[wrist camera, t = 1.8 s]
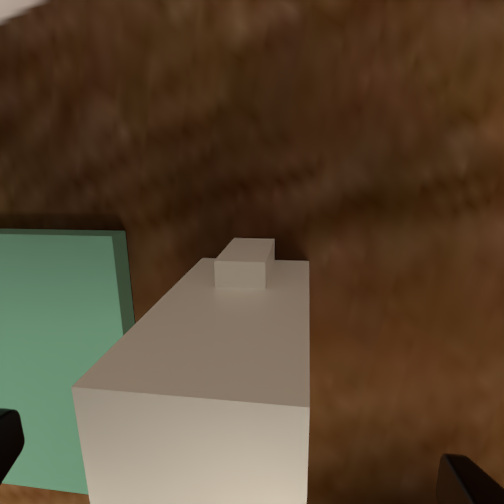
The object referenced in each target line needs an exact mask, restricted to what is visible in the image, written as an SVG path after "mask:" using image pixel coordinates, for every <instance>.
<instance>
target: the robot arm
mask: <svg viewBox="0 0 504 504" xmlns="http://www.w3.org/2000/svg"><path fill="white" fill-rule="evenodd" d="M24 444H25V437H24V432H23V427H22V422H21V417H20V414H19V412H18V411H17V410H15V409H6V408H0V485H1V483H2V482H3V480H4V478H5V477H6V475H7V474H8V472H9V471H10V469H11V468H12V466H13V464H14V463H15V461H16V460H17V458H18V457H19V455H20V454H21V452H22V450H23V447H24ZM436 496H437V502H438V504H504V488H503V487H501V486H500V485H499V484H498V483H497V482H496V481H495V480H493V479H492V478H491V477H490V476H489V475H488V474H487V473H486V472H484V471H483V470H482V469H481V468H480V467H479V466H478V465H476V464H475V463H474V462H473V461H472V460H471V459H470V458H468V457H467V456H464V455H458V454H448V453H445V454H443V455H442V456H441V459H440V464H439V471H438V478H437V485H436Z"/></svg>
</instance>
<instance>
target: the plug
mask: <svg viewBox="0 0 504 504" xmlns="http://www.w3.org/2000/svg"><path fill="white" fill-rule="evenodd" d="M71 389H72V395H73V401H74V407H75V414H76V420H77V426H78V432H79V438H80V444H81V450H82V456H83V463H84V469H85V475H86V481H87V487H88V493H89V499H90V504H307V478H308V446H309V415H310V356H309V261H293V260H275V239H261V238H234V239H233V240H232V241H231V242H230V243H229V244H228V245H227V247H226V248H225V249H224V250H223V251H222V252H221V253H220V255H219V256H218V257H217V258H202V259H201V260H200V261H199V262H198V263H197V264H196V265H195V266H194V267H193V268H192V269H190V270H189V271H188V272H187V273H186V274H185V275H184V276H183V277H182V278H181V279H180V280H179V281H178V282H177V283H176V284H175V285H174V286H173V287H172V288H171V289H170V290H169V291H168V292H167V293H166V294H165V295H164V296H163V297H162V298H161V299H160V300H159V301H158V302H157V303H156V304H155V305H154V306H153V307H152V308H151V309H150V310H149V311H148V312H147V313H146V314H145V315H144V316H143V317H142V318H141V319H140V320H139V321H138V322H137V323H136V324H135V325H134V326H133V327H132V328H131V329H130V330H129V331H128V332H126V333H125V334H124V335H123V336H122V337H121V338H120V339H119V340H118V341H117V342H116V343H115V344H114V345H113V346H112V347H111V348H110V349H109V350H108V351H107V352H106V353H105V354H104V355H103V356H102V357H101V358H100V359H99V360H98V361H97V362H96V363H95V364H94V365H93V366H92V367H91V368H90V369H89V370H88V371H87V372H86V373H85V374H84V375H83V376H82V377H81V378H80V379H79V380H78V381H77V382H76V383H75V384H74V385H73V386H72V387H71Z"/></svg>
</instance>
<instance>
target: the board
mask: <svg viewBox="0 0 504 504" xmlns="http://www.w3.org/2000/svg"><path fill="white" fill-rule="evenodd" d="M134 325H135V320H134V310H133V301H132V291H131V282H130V272H129V262H128V253H127V243H126V234H125V231H111V230H55V229H0V408H6V409H15V410H17V411H18V412H19V414H20V417H21V422H22V427H23V432H24V437H25V444H24V447H23V450H22V452H21V454H20V455H19V457H18V458H17V460H16V461H15V463H14V464H13V466H12V468H11V469H10V471H9V472H8V474H7V475H6V477H5V478H4V480H3V482H2V483H6V484H13V485H21V486H28V487H36V488H43V489H51V490H58V491H66V492H73V493H81V494H88V495H89V493H88V487H87V481H86V475H85V469H84V463H83V456H82V450H81V444H80V438H79V432H78V426H77V420H76V414H75V407H74V401H73V395H72V389H71V387H72V386H73V385H74V384H75V383H76V382H77V381H78V380H79V379H80V378H81V377H82V376H83V375H84V374H85V373H86V372H87V371H88V370H89V369H90V368H91V367H92V366H93V365H94V364H95V363H96V362H97V361H98V360H99V359H100V358H101V357H102V356H103V355H104V354H105V353H106V352H107V351H108V350H109V349H110V348H111V347H112V346H113V345H114V344H115V343H116V342H117V341H118V340H119V339H120V338H121V337H122V336H123V335H124V334H125V333H126V332H128V331H129V330H130V329H131V328H132V327H133V326H134Z"/></svg>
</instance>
